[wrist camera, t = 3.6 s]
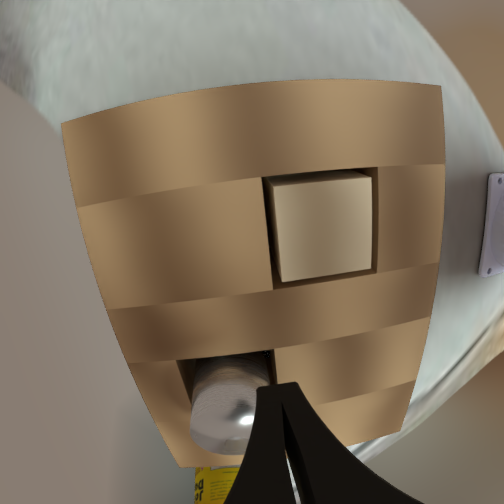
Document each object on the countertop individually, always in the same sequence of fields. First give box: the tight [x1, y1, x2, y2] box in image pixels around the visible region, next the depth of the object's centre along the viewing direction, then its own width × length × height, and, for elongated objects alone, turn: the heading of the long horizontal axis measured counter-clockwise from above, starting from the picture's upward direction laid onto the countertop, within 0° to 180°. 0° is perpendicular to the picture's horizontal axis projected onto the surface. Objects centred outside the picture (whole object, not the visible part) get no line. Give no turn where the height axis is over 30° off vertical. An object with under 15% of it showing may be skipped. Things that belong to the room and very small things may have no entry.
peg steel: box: [190, 351, 270, 455], centre depth 15 cm, size 4×4×5 cm
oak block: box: [61, 79, 445, 468], centre depth 17 cm, size 16×22×5 cm
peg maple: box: [261, 169, 372, 282], centre depth 15 cm, size 4×4×5 cm
